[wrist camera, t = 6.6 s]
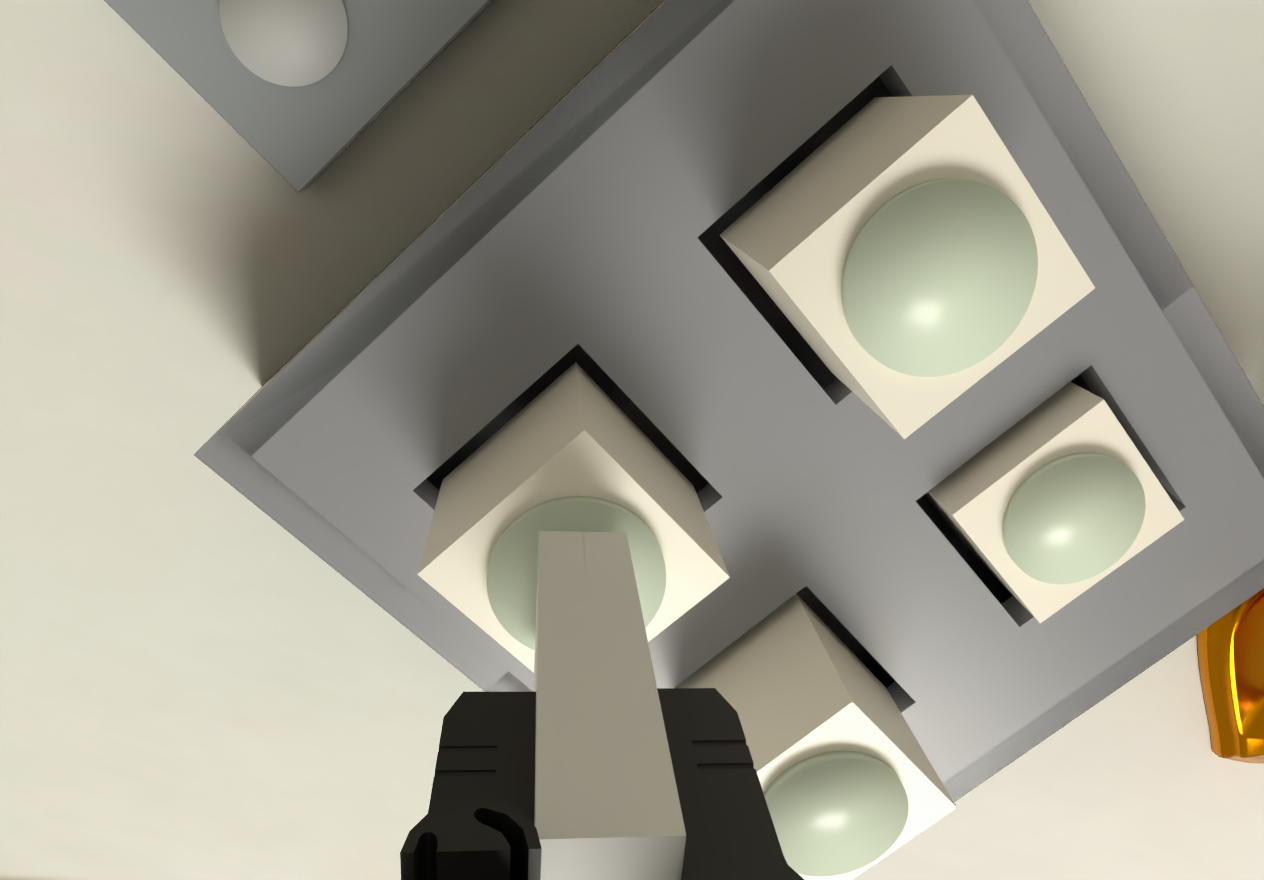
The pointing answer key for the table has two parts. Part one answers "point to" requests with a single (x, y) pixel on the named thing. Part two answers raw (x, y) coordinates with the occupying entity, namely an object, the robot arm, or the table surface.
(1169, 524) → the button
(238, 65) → the card
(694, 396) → the button box
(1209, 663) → the figurine
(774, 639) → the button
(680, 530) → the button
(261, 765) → the table surface
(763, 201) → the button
